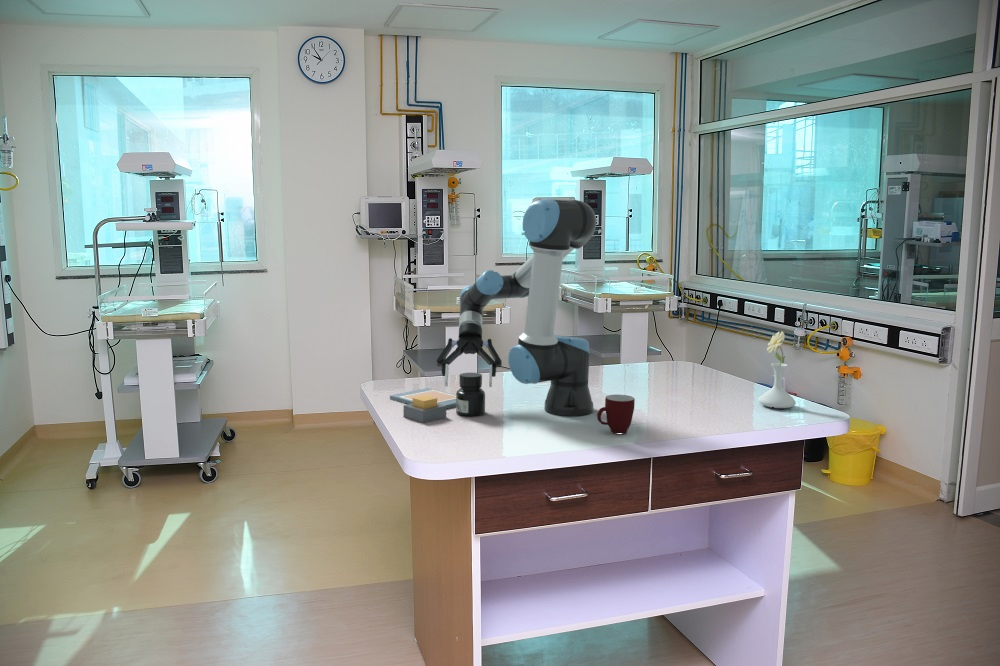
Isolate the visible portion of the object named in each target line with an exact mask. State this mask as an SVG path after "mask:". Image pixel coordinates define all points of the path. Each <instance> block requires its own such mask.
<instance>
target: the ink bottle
mask: <svg viewBox="0 0 1000 666" xmlns="http://www.w3.org/2000/svg"><path fill="white" fill-rule="evenodd" d="M458 383H459V387H460V388H459V389H458V390H457V391H456V393H455V395H456V407H455V412H456V414H457V415H459V416H461V415H462V417H479V416H483V415H485V413H486V393H485V390H484V389H482V387H483V386H482V385H483V374H481V373H478V372H462V373H460V374H459V382H458Z"/></svg>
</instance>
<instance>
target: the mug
mask: <svg viewBox="0 0 1000 666" xmlns="http://www.w3.org/2000/svg"><path fill="white" fill-rule="evenodd" d="M604 398H605V402H604V407H601V408H600V409H599V410H598V411H597V414H596V415H597V416H596V419H597V421H598V422H599V423H600V424H601V425H604V426H608V428H609V430H610V432H611V433H612V432H613V433H612V434H614V433H625V434H626V433H627V432H628V430H629V428H630V427H631V424H632V419H633V415H634V411H635V399H636V398H635V397H633V396H632V395H627V394H609V395H606V396H605V397H604ZM604 412H605V417H606V422H605V421H602V417H601V416H602V414H603V413H604Z"/></svg>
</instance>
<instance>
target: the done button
mask: <svg viewBox="0 0 1000 666" xmlns="http://www.w3.org/2000/svg"><path fill="white" fill-rule="evenodd" d="M412 399H413V406H414V407H418V408H421V409H427V408H431V407H436V406H437V398H435V397H431V396H427V395H425V396H420V397H415V398H412Z"/></svg>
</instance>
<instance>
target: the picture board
mask: <svg viewBox="0 0 1000 666" xmlns="http://www.w3.org/2000/svg"><path fill="white" fill-rule="evenodd" d="M425 395H427V396H431V397H435V398H437V403H438V404H441V405H445V406H446V408H448V409H451V408H450V407H452V408H455V407H454V406H456V394H452V393H449V392H444V391H440V390H437V389H433V388H429V387H425V388H421V389H416V390H411V391H405V392H400V393H396V394H391V395H389V400H392V399H393V400H392V401H395V400H396V401H395V402H399V403H402V402H403V404H405V403H407V404H406V405H408V404H413V399H412V398H415V397H420V396H425Z"/></svg>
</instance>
